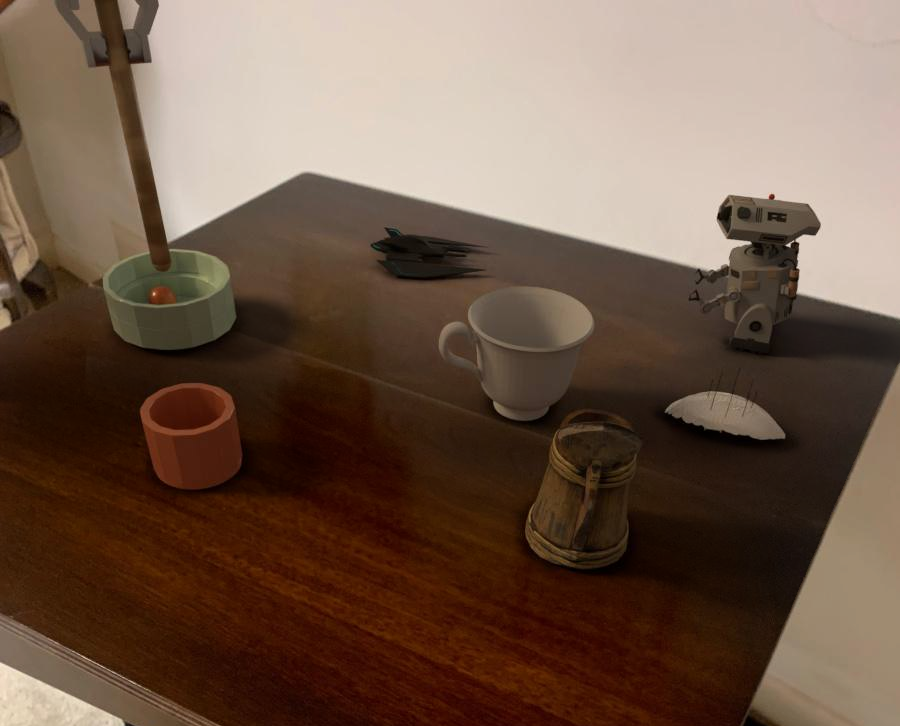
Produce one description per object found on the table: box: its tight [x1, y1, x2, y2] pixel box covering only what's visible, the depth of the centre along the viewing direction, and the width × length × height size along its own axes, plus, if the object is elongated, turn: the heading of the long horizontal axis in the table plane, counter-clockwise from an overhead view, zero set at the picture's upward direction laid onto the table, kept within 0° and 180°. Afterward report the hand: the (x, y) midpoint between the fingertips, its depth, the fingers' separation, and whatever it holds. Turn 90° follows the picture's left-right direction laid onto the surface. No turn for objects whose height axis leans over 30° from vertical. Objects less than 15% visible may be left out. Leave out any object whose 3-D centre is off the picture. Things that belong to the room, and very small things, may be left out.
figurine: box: [688, 193, 822, 355], centre depth 98 cm, size 9×12×15 cm
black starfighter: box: [370, 226, 490, 280], centre depth 112 cm, size 11×15×3 cm
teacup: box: [438, 285, 595, 422], centre depth 87 cm, size 12×15×10 cm
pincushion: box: [664, 367, 786, 441], centre depth 88 cm, size 12×6×6 cm, turn 69°
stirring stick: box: [93, 0, 171, 272], centre depth 65 cm, size 2×2×20 cm
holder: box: [139, 382, 243, 491], centre depth 80 cm, size 8×8×6 cm
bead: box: [149, 286, 177, 305], centre depth 99 cm, size 3×3×3 cm
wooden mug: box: [524, 408, 644, 571], centre depth 69 cm, size 9×14×18 cm, turn 169°
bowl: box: [102, 248, 237, 351], centre depth 97 cm, size 13×13×6 cm
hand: (118, 63), depth 62 cm, fingers closed on stirring stick, 1 cm apart
